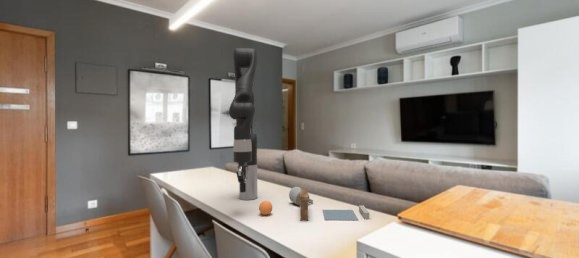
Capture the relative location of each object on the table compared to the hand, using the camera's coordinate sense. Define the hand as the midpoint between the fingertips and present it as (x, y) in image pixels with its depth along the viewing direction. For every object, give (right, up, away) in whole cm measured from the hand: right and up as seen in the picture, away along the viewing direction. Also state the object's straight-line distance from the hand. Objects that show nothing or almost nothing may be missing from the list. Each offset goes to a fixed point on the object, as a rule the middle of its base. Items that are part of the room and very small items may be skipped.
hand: (243, 191), depth 115 cm
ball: (+9, -7, 0) cm, 12 cm away
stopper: (+50, -9, -2) cm, 51 cm away
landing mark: (+40, -9, -2) cm, 41 cm away
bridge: (+25, -9, -1) cm, 27 cm away
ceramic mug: (+25, -10, +16) cm, 31 cm away
